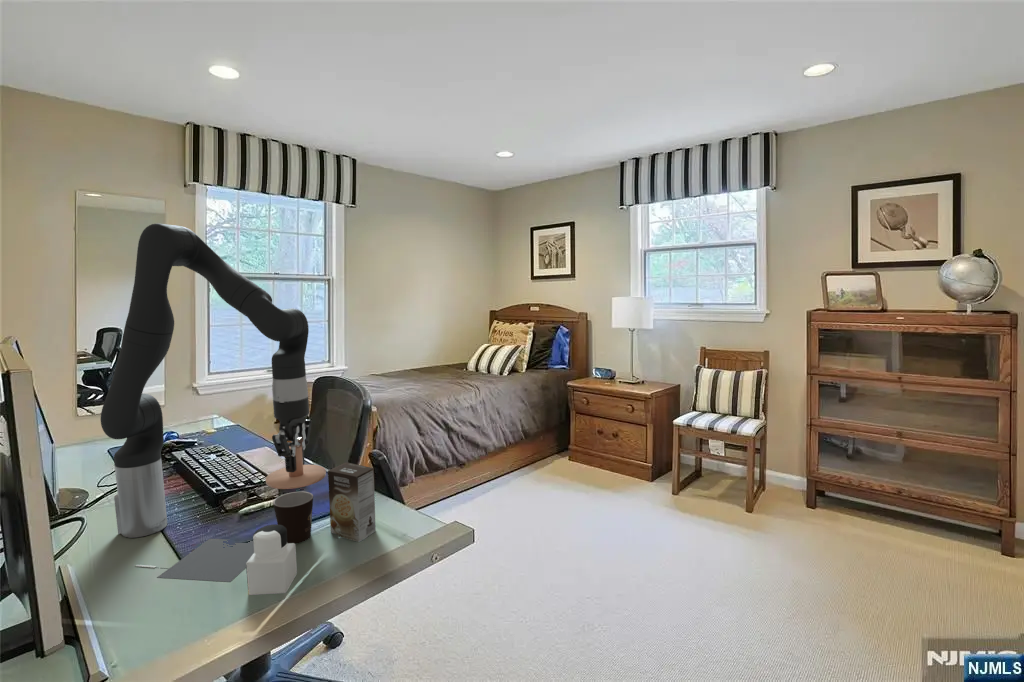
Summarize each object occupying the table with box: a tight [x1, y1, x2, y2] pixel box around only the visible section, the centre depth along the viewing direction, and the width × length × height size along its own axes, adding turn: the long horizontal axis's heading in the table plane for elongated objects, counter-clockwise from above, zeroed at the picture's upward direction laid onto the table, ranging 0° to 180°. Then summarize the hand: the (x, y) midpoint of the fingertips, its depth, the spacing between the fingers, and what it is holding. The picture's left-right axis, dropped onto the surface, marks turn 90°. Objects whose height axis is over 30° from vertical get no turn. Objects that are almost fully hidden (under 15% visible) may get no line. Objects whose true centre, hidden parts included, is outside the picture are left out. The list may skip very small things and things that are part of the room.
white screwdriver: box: [135, 564, 169, 570], centre depth 111 cm, size 1×19×1 cm, turn 82°
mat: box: [156, 538, 254, 583], centre depth 115 cm, size 16×16×1 cm
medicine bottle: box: [245, 524, 298, 596], centre depth 105 cm, size 7×7×12 cm
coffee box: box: [327, 461, 377, 543], centre depth 126 cm, size 9×6×16 cm
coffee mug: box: [272, 491, 314, 545], centre depth 125 cm, size 12×9×10 cm
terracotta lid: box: [265, 445, 327, 490], centre depth 123 cm, size 13×13×7 cm
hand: (295, 468), depth 124 cm, fingers closed on terracotta lid, 3 cm apart
